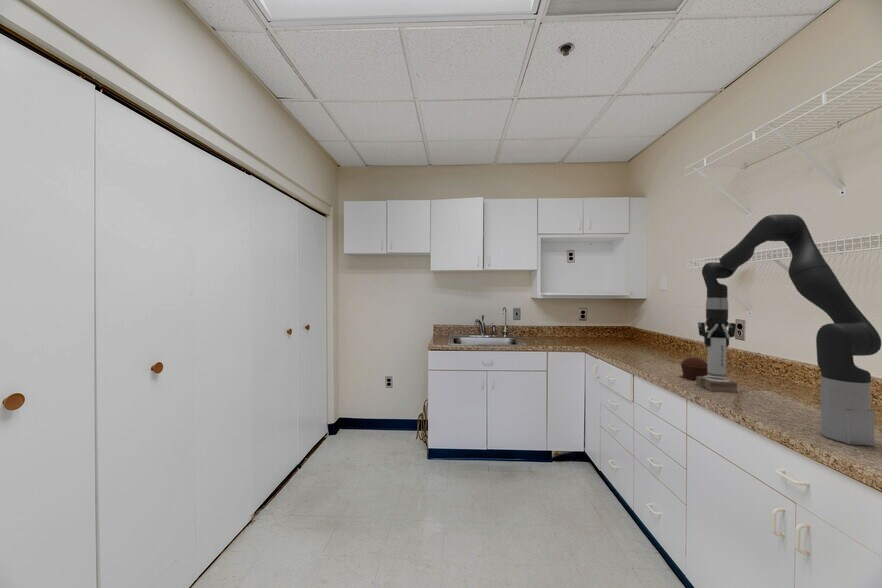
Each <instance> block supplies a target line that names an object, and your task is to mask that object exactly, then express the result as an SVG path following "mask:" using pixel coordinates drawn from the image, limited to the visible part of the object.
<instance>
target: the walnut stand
mask: <svg viewBox="0 0 882 588" xmlns="http://www.w3.org/2000/svg"><path fill="white" fill-rule="evenodd" d="M695 385H696V386H698V387H699V388H702V389H705V390H706V391H709V392H715V393H718V392H719V393H738V382H735V381H732V380H730V378H726V377H715V376H710V375H707V376H696V384H695Z"/></svg>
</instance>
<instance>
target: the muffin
mask: <svg viewBox="0 0 882 588" xmlns="http://www.w3.org/2000/svg"><path fill="white" fill-rule="evenodd" d="M680 367H681V372H682V377H683V378H684V379H685V378H686V379H685V380H688V379H690V380H689V381H694V380H696V376H709V375H708V374H707V371H708V370H707V361H705V360H703V359H701V358H698V357H688V358H686V359H684V360H682V362H681V363H680Z"/></svg>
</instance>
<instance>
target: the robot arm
mask: <svg viewBox="0 0 882 588" xmlns="http://www.w3.org/2000/svg"><path fill="white" fill-rule="evenodd" d="M767 242H784V243H785V244H786V246H787V247H788V249H789V250H790V253H791V260H790V264H789V266H788V277H789V279H790V280H791V282H792V285H794V287H795V290H796V291H797V292H798V293H799V294H800V295H801V296H802V297H803V298H804V299H806V300H807V301H808V302H810V303H812V304H813V305H815V306H816V307H818V308H819V309H820V310H821V311H823V312H824V313H826V315H827V316H829V318H830V319H831V320H832V323H825V324H823V325H822V326H820V328H819V329H818V330H817V332H816V337H815V338H816V339H815V345H816V361H817V366H818V368H819V370H820V412H819V413H820V424H819V425H820V426H819V428H820V429H819V433H820V435H822V436H824V437H825V438H828V439H831V440H834V441H837V442H842V443H844V444H848V445H854V446H870V447H873V446H875V411H874V410H871V393H872V392H871V391H872V390H871V389H872V386H871V384H872V375H871V373H870V371H868V370H866V369H863V368H860V367H858V366H857V365H856V364H855V362H854V356H857V357H858V356H859V357H861V356H862V357H864V356H865V357H866V356H873V355H875V354H877V353H878V352H879V351H880V350H881V347H882V338H881V335H880V334H879V332H878V331H877V329H876V327H875V326H874V325H873V324H872V323H871V321H869V320H868V319H867V317H866V316H865V315H864V314H863V313H862V312H861V310H860V309H859V308H858V307H857V306H856V304H855V303H854V302H853V300H852V299H851V297H850V296H849V294H848V293H847V291H846V289H844V287H843V286H842V285H841V283H840V281H839V279H838V277H837V275H836V274H835V273H834V271H833V270H832V268H831V267H830V265H829V264H828V263H827V261H826V259H825V258H824V256H823V254H822V253H821V252H820V250H819V248H818V247H817V245H816V243H815V241H814V239H813V236H812V235H811V232H810V230H809V228H808V226H807V224H806V222H805V220H804V219H803V217H801V216H799V215H797V214H791V213H790V214H786V213H783V214H779V213H778V214H769V215H765V216H764V217H762V218H761V219H760V220H759V221H758V222H757V223H756V224H755V225H754V226H753V227H752V228H751V229H750V230H749V232H747V234H746V235H745V236H744V237H743V238H742V239H741V240H740V241H739V242H738V243H737V244H736V245H735V246H734V247H733V248H731V249H729V250H728V251H727V252H726V253H724V254H723V255H722V256H721V257H720V259H719V262H718V261H717V262H716V261H715V262H713V261H712V262H706V263H705V264H704V265H703V266H702V269H701V276H702V278H703V280H704V284H705V287H706V300H705V319H706V320H705V322H701V321H698V322H697V328H698V335H699V336H700V337H703V339H704V340H703V341H704V342H703V343H704V345H705V346H706V347H707V348H708V347H710V336H711V334H712V333H713V331H716V332H717V331H719V332H725V333H726V348H728V347H729V346H730V339H731V338H735V335H736V328H737V323H735V322H728V319H729V299H728V298H729V297H728V296H729V295H728V294H729V293H728V291H729V290H728V286H727V285H726V284H723V283H719V281H718V279H720V280H721V279H723V280H724V279H728V278H730V277H732V276H733V275H734V274H735V272H736V271H738V268H739V267H741V266H742V265H744V264H745V263H747V262H748V261H749V260H751V259H752V257H753V255H754V254H755V250H756V248H757V247H758V246H760V245H761V244H764V243H767ZM727 328H728V329H727ZM707 329H709V330H710V331H708V330H707Z"/></svg>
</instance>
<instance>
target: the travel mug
mask: <svg viewBox="0 0 882 588" xmlns="http://www.w3.org/2000/svg"><path fill="white" fill-rule="evenodd" d="M706 329H707V328H706ZM707 330H708V331H710V330H709V329H707ZM706 363H707V370H708V371H707V374H708V375H707V376H715V377H723V378H726V376H727V347H726V333H725V332H719V331H717V332H716V331H713V333H712V334H711V336H710V347H708V346H707V361H706Z"/></svg>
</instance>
